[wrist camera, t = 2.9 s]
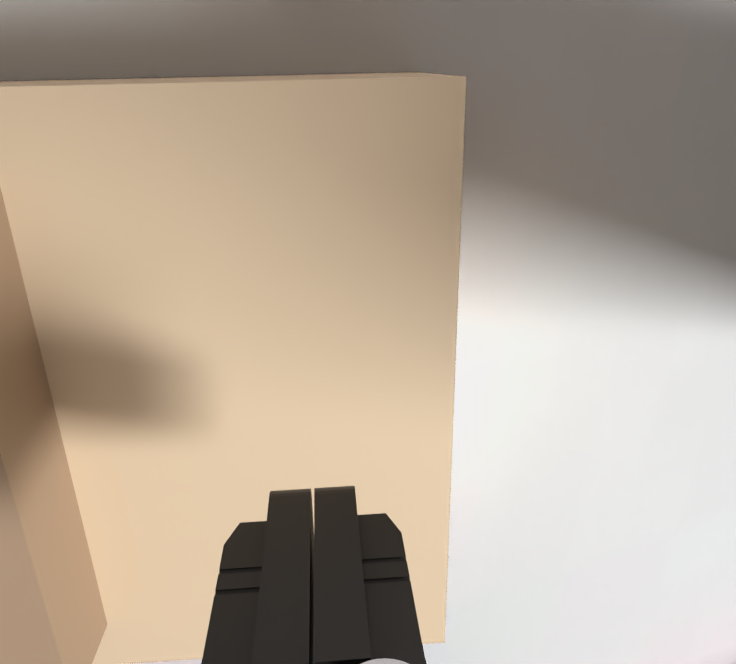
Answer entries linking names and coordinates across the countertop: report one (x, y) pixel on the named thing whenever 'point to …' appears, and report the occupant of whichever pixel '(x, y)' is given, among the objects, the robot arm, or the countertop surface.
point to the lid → (216, 340)
